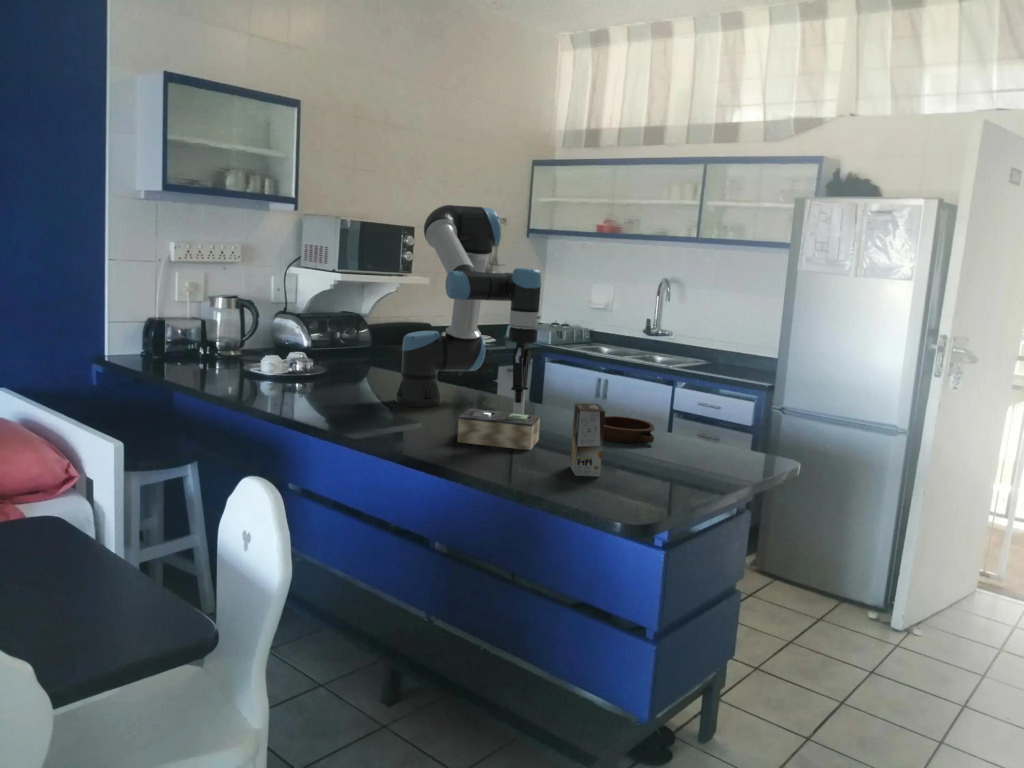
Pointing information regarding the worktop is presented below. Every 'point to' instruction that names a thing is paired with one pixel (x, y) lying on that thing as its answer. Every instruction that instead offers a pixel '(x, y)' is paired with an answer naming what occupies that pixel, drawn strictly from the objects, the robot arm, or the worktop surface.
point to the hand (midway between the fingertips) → (518, 413)
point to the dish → (627, 430)
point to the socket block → (498, 430)
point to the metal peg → (482, 413)
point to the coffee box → (587, 439)
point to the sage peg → (518, 417)
